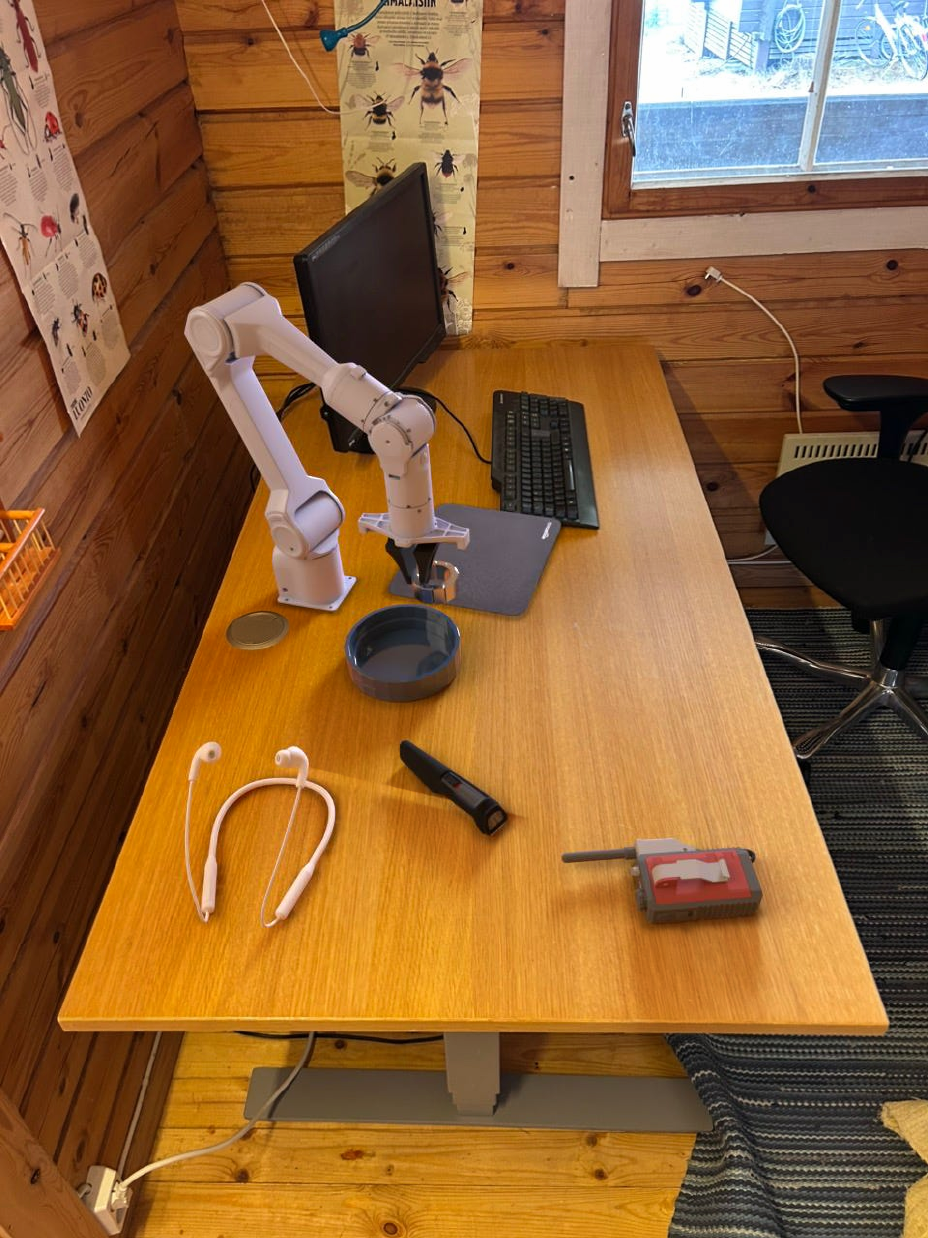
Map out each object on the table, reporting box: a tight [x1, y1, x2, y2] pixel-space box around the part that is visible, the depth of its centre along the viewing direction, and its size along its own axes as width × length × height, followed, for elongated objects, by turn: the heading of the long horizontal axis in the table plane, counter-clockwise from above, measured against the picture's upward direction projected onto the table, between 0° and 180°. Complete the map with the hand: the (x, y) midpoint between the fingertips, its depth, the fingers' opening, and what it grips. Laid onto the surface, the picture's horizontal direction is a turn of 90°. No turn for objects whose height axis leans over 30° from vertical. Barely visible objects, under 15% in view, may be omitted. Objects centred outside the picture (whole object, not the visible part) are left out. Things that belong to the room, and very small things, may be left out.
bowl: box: [343, 603, 462, 703], centre depth 115 cm, size 15×15×4 cm
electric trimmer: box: [398, 739, 508, 837], centre depth 99 cm, size 4×16×3 cm, turn 45°
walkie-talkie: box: [561, 837, 764, 924], centre depth 88 cm, size 9×4×20 cm
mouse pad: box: [387, 503, 562, 617], centre depth 133 cm, size 25×21×1 cm
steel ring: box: [411, 560, 459, 606], centre depth 115 cm, size 6×6×3 cm
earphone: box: [184, 741, 336, 929], centre depth 93 cm, size 14×17×18 cm
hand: (418, 581), depth 116 cm, fingers closed on steel ring
